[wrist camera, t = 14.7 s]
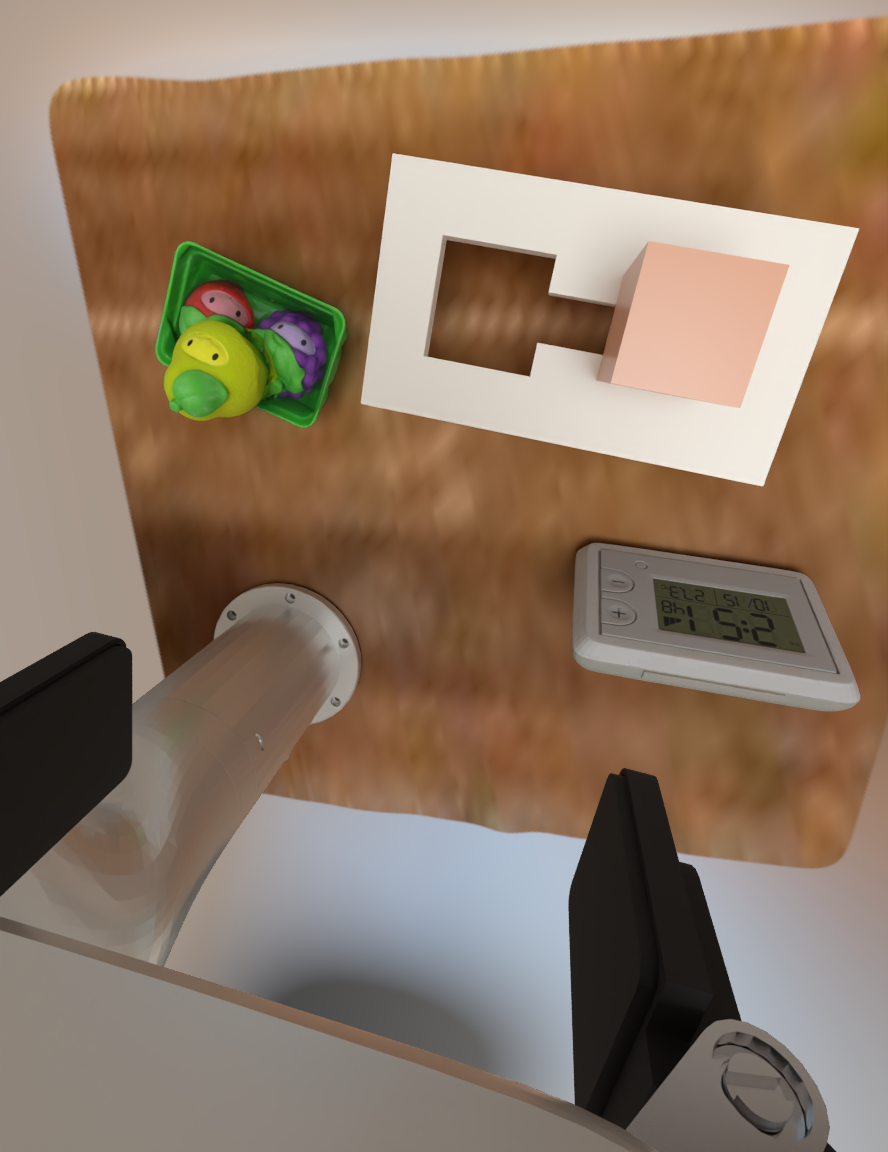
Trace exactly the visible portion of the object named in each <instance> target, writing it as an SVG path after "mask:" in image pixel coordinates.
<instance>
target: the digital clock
mask: <svg viewBox="0 0 888 1152" xmlns="http://www.w3.org/2000/svg"><path fill="white" fill-rule="evenodd" d="M572 652H573V656H574V659H575V660H576V661H577V662H578V664H579V665H581V666H582V667H584V668H585V669H588V670H591V671H595V672H600V673H605V674H610V675H616V676H621V677H626V678H632V679H637V680H643V681H649V682H655V683H660V684H666V685H672V686H678V687H683V688H689V689H695V690H701V691H706V692H712V693H718V694H724V695H729V696H735V697H741V698H747V699H752V700H758V701H764V702H770V703H775V704H781V705H787V706H794V707H800V708H806V709H812V710H819V711H841V710H846V709H849V708H851V707H853V706H854V705H856V704H857V702H858V701H859V700H860V693H859V690H858V686H857V684H856V681H855V678H854V676H853V673H852V670H851V668H850V666H849V663H848V661H847V659H846V656H845V654H844V652H843V650H842V647H841V645H840V643H839V641H838V638H837V636H836V634H835V632H834V629H833V627H832V625H831V622H830V620H829V618H828V616H827V613H826V611H825V609H824V607H823V604H822V602H821V600H820V597H819V595H818V593H817V591H816V588H815V586H814V584H813V582H812V581H811V580H810V578H809V577H807V576H806V575H804V574H802V573H798V572H794V571H788V570H782V569H776V568H769V567H763V566H756V565H749V564H742V563H736V562H729V561H722V560H715V559H709V558H702V557H695V556H688V555H681V554H675V553H668V552H661V551H654V550H647V549H641V548H634V547H627V546H620V545H612V544H604V543H591V544H589V545H587V546H585V547H583V548H581V549H580V550H578V552H577V554H576V560H575V576H574V599H573V621H572Z"/></svg>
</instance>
